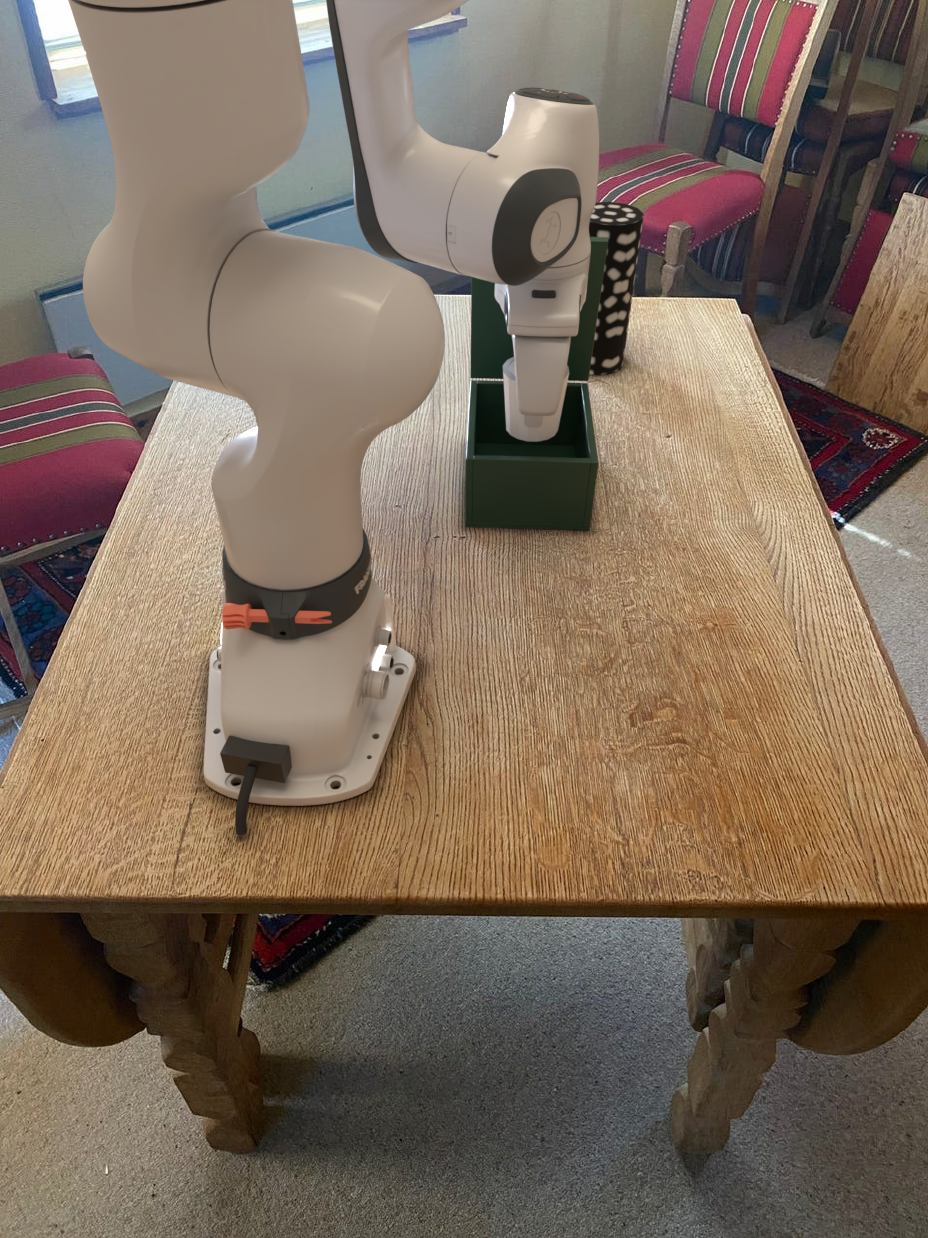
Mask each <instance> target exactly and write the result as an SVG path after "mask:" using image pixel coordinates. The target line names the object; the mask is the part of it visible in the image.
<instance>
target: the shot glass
mask: <svg viewBox="0 0 928 1238" xmlns="http://www.w3.org/2000/svg"><path fill="white" fill-rule="evenodd" d="M568 376H569V368H568V365H567V367H566V372H565V378H564V383H563V388H562V393H561V398H560V403H559V406H558V409H557V411H556V413H555V414H554V415H552V416H543V420H542V425H541V426H540V427H538V428H533V427H527V426H525V415H522V414H521V413H520V412H519V408H518V402H517V391H516V376H515V361H514V357H512V358H510V359H508V360H507V361H506V362H505V363H504V365H503V379H502V380H503V381H504V397H505V415H506V430H507V431H508V433H509V434H510V435H511V436H513V437H515V438H517V439H519V440H524V441H531V442H539V441H543V440H548V439H550V438H551V437H553V436H555V434H556V433H557V431H558V427H559V422H560V417H561V412H562V407H563V402H564V397H565V392H566V387H567V383H569V381H568Z"/></svg>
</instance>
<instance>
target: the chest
mask: <svg viewBox="0 0 928 1238" xmlns="http://www.w3.org/2000/svg"><path fill="white" fill-rule="evenodd" d="M468 401H469V402H468V412H467V413H468V416H467V432H466V450H465V484H464V485H465V486H464V487H465V489H464V490H465V492H464V493H465V494H464V495H465V496H464V527H465V528H473V529H475V528H476V529H508V530H509V529H511V530H543V531H545V530H547V531H580V532H581V531H583V532H586V531H587V532H589V531H590V530H591V523H592V517H593V516H592V515H593V509H594V501H595V500H594V499H595V492H596V485H597V477H598V469H599V457H598V449H597V442H596V435H595V427H594V420H593V412H592V403H591V397H590V390H589V383H588V382H567V387H566V392H565V397H564V402H563V407H562V412H561V417H560V422H559V427H558V431H557V433H556V434H555V436H553V437H551V438H550V439H548V440H543V441H539V442H531V441H524V440H519V439H517V438H515V437H513V436H511V435H510V434H509V433H508V431H507V430H506V415H505V397H504V380H488V379H486V380H485V379H478V380H476V379H471V380H470V381H469V398H468Z"/></svg>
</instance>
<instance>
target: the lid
mask: <svg viewBox="0 0 928 1238" xmlns="http://www.w3.org/2000/svg"><path fill="white" fill-rule="evenodd" d="M590 241H591V254H590V263H589V273H588V283H587V292H586V300H585V302H584V304H583V306H582V309H581V311H580V320H579V328H578V334H577V335H576V336H571V340H570V348H569V355H568V361H567V365H568V368H569V376H568V382H589V379H590V374H589V373H590V366H591V359H592V352H593V345H594V338H595V331H596V324H597V317H598V310H599V303H600V296H601V289H602V282H603V275H604V268H605V261H606V254H607V247H608V237H590ZM470 277H471V276H470ZM470 280H471V281H470V282H471V283H470V284H471V285H470V286H471V288H470V289H471V290H470V292H471V293H470V376H469V377H470V379H479V380H485V379H486V380H504V379H503V365H504V363H505V362H506V361H507V360H508V359H510V358H512V357H514V349H513V340H512V335H510V334H508V332H507V327H506V320H505V316H504V313H503V311H502V309H501V307H500V304H499V303H498V302H497V301H496V299H495V283H493V282H489V281H485V280H482V279H478V278H475V277H471V279H470Z"/></svg>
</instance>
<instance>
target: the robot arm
mask: <svg viewBox="0 0 928 1238" xmlns="http://www.w3.org/2000/svg"><path fill="white" fill-rule="evenodd" d="M67 1H68V5H69V7H70V10H71V13H72V16H73V20H74V22H75V25H76V29H77V32H78V35H79V38H80V41H81V44H82V48H83V51H84V54H85V57H86V60H87V63H88V67H89V70H90V73H91V77H92V81H93V83H94V86H95V90H96V94H97V97H98V100H99V103H100V106H101V111H102V114H103V118H104V122H105V124H106V128H107V132H108V135H109V139H110V143H111V150H112V155H113V162H114V172H115V202H114V208H113V209H114V210H113V214H112V217H111V219H110V222H109V223H108V224H107V225H106V226H105V227H104V228H103V229H102V230H101V231H100V232H99V234H98V235H97V237H96V238H95V239H94V241H93V243H92V245H91V248H90V250H89V252H88V253H87V257H86V259H85V260H86V261H85V265H84V269H83V275H82V295H83V301H84V306H85V311H86V314H87V317H88V321H89V323H90V324H91V326H92V329H93V330H94V332H95V334H96V335H97V337H98V338H99V339H100V341H101V342H102V343H103V344H104V345H106V347H108V348H109V349H111V350H112V351H114V352H115V353H117V354H119V355H121V356H122V357H124V358H126V359H128V360H130V361H131V362H133V363H134V364H136V365H138V366H139V367H143V368H144V369H146V370H148V371H150V372H152V373H154V374H156V375H157V376H160V377H162V378H165V379H167V380H171V381H174V382H178V383H181V384H186V385H189V386H193V387H196V388H201V389H204V390H208V391H211V392H215V393H218V394H222V395H226V396H229V397H233V398H237V399H239V400H241V401H243V402H245V403H246V404H247V405H248V406H249V408H250V409H251V412H252V413H253V415H254V417H255V422H256V426H254V427H252V428H249V429H247V430H245V431H244V432H242V433H240V434H239V435H237V436H236V437H234V438H233V439H231V441H230V442H229V443H228V444H227V445H226V446H225V447H224V449H223V450H222V451H221V453H220V454H219V457H218V459H217V461H216V463H215V466H214V469H213V471H212V476H211V482H210V485H211V491H212V496H213V501H214V505H215V509H216V514H217V518H218V519H217V520H218V523H219V529H220V533H221V538H222V541H223V548H222V553H221V559H222V564H221V565H222V568H221V577H222V586H223V589H221V590H220V592H219V596H220V599H221V603H222V613H221V614H222V616H221V628H220V637H219V640H220V646H218V647H217V648H216V649H215V650H213V651H212V652H211V653H210V655H209V656H210V657H209V667H208V684H207V699H206V701H207V702H206V719H205V720H206V721H205V735H204V752H203V769H202V771H203V772H202V773H203V779H204V783H205V785H206V786H208V787H209V788H210V789H211V790H213V791H215V792H216V793H219V794H220V795H223V796H225V797H228V798H231V799H233V800H237V801H236V806H235V815H234V816H235V817H234V818H235V820H234V821H235V823H234V824H235V826H234V827H235V835H237V836H245V835H246V834H247V833H248V831H247V829H248V827H247V821H248V820H247V816H248V815H247V814H248V807H249V803H252V804H259V805H267V806H269V805H270V806H282V807H283V806H286V807H293V806H295V807H297V806H300V807H302V806H303V807H304V806H318V805H319V806H320V805H326V804H333V803H337V802H341V801H345V800H349V799H352V798H355V797H357V796H359V795H361V794H363V793H366V792H367V791H369V790H370V789H371V788H372V787H373V785H374V784H375V782H376V779H377V777H378V774H379V772H380V770H381V766H382V763H383V761H384V759H385V755H386V753H387V750H388V747H389V745H390V742H391V739H392V737H393V734H394V732H395V728H396V726H397V723H398V721H399V718H400V715H401V713H402V710H403V708H404V704H405V702H406V699H407V696H408V694H409V691H410V688H411V687H412V683H413V680H414V678H415V676H416V672H417V662H416V659H415V657H414V656H413V655H412V654H411V653H410V652H409V651H407V650H405V649H403V648H402V647H400V646H398V645H397V640H396V639H397V638H396V629H395V621H394V613H393V606H392V605H393V604H392V597H391V596H390V595H389V594H388V593H387V591H385V590H384V589H383V588H382V587H381V586H380V585H379V584H378V583H377V582H376V580H375V579H374V578H373V577H372V576H373V572H372V570H373V569H372V565H373V561H372V560H373V557H372V550H371V546H370V543H369V542H370V541H369V538H368V534H367V532H366V530H365V529H364V528H363V519H362V515H363V514H362V478H361V477H362V467H363V463H364V459H365V457H366V453H367V451H368V449H369V447H370V445H371V444H372V442H374V440H375V439H376V438H377V437H378V436H379V435H380V434H381V433H383V432H384V431H386V430H387V429H389V428H391V427H393V426H395V425H398V424H400V423H401V422H403V421H404V420H406V419H408V418H409V417H410V416H411V415H412V414H414V412H415V411H417V410H418V409H419V408H420V407H421V405H422V404H423V403H424V402H425V400H426V399H427V398H428V397H429V395H430V393H431V392H432V391H433V388H434V387H435V385H436V382H437V381H438V378H439V375H440V374H441V373H440V372H441V370H442V365H443V362H444V357H445V348H446V347H445V346H446V337H445V335H446V333H445V325H444V320H443V315H442V312H441V308H440V305H439V303H438V301H437V297H436V296H435V294H434V292H433V290H432V288H431V287H430V285H429V283H428V282H427V281H426V280H425V279H424V278H423V277H422V276H420V275H419V274H417V273H415V272H412V271H410V270H408V269H406V268H404V267H402V266H400V265H398V264H397V263H394V262H391V261H389V260H394V261H395V260H396V261H401V262H408V263H412V264H422V265H426V266H430V267H433V268H436V269H440V270H443V271H446V272H449V273H454V274H457V275H460V276H461V275H462V276H464V277H475V278H478V279H482V280H485V281H489V282H493V283H495V299H496V301H497V302H498V303H499V304H500V307H501V309H502V311H503V313H504V316H505V320H506V327H507V332H508V334H510V335H512V340H513V349H514V361H515V376H516V391H517V402H518V408H519V412H520V413H521V414H522V415H525V426H527V427H533V428H538V427H540V426H541V425H542V420H543V416H552V415H554V414H555V413H556V411H557V409H558V406H559V403H560V398H561V393H562V388H563V383H564V378H565V372H566V367H567V361H568V355H569V348H570V340H571V336H576V335H577V334H578V328H579V320H580V311H581V309H582V306H583V304H584V302H585V300H586V292H587V283H588V273H589V263H590V254H591V241H590V237H589V222H590V218H591V215H592V212H593V210H594V207H595V204H596V202H597V197H598V196H597V194H598V185H599V172H600V171H599V170H600V126H599V114H598V110H597V106H596V105H595V103H593V101H591V100H590V98H588V97H587V96H585V95H582V94H579V93H575V92H570V91H569V92H568V91H563V90H557V89H547V88H542V87H531V86H530V87H522V88H518V89H516V90H514V91H513V92H511V93H510V95H509V97H508V100H507V105H506V110H505V114H504V120H503V121H504V122H503V128H502V135H501V136H500V137H499V139H498V140H497V141H496V143H494V145H492V146H491V147H490V148H489V149H487V150H486V152H485V151H480V150H475V149H471V148H466V147H463V146H462V147H461V146H457V145H452V144H448V143H444V142H441V141H440V140H438V139H436V138H434V137H432V136H431V135H430V134H429V133H427V132H426V131H425V130H424V128H422V126H421V125H420V124H419V122H418V120H417V116H416V108H415V98H414V87H413V79H412V78H413V77H412V68H411V60H410V50H409V30H412V29H415V28H417V27H420V26H422V25H426V24H428V23H431V22H434V21H436V20H439V19H441V18H443V17H445V16H447V15H449V14H451V13H452V12H454V11H455V10H457V9H459V8H460V7H461V6H463V5H465V4H466V3H468V1H469V0H325V3H326V11H327V18H328V19H327V20H328V27H329V33H330V39H331V45H332V51H333V57H334V62H335V67H336V68H335V69H336V73H337V78H338V84H339V91H340V95H341V101H342V106H343V111H344V118H345V123H346V128H347V133H348V138H349V144H350V149H351V156H352V163H353V164H352V166H353V205H354V212H355V213H354V214H355V216H356V221H357V222H358V226H359V228H360V231H361V233H362V235H363V237H364V238H365V241H366V242H367V244H368V245H369V247H370V248H371V249H372V250H373V251H374V252H375V253H376V254H377V255H376V254H373V253H371V252H369V251H367V250H364V249H361V248H360V247H355V246H351V245H346V244H345V245H344V244H340V243H336V242H330V241H324V240H321V239H314V238H310V237H304V236H299V235H296V234H295V235H294V234H290V233H285V232H280V231H277V230H275V229H273V228H272V229H271V228H269V226H268V225H267V223H266V222H265V220H264V219H263V217H262V215H261V212H260V208H259V204H258V191H257V189H258V188H257V186H259V185H261V184H262V183H264V182H266V181H267V180H269V179H270V178H272V177H273V176H275V174H277V173H278V172H279V171H281V170H282V169H283V168H284V167H286V165H287V164H288V163H289V162H291V160H292V159H293V157H294V156H295V154H296V153H297V152H298V150H299V148H300V146H301V143H302V141H303V139H304V136H305V133H306V130H307V126H308V124H309V123H308V122H309V117H310V111H311V110H310V109H311V108H310V107H311V103H310V98H309V97H310V96H309V91H308V85H307V79H306V73H305V67H304V61H303V55H302V49H301V41H300V37H299V31H298V26H297V20H296V19H297V18H296V13H295V9H294V8H295V7H294V1H293V0H67ZM378 255H379V256H378ZM382 257H383V258H382ZM387 259H388V260H387ZM236 784H238V785H236ZM335 787H338V788H336V789H335Z"/></svg>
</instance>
